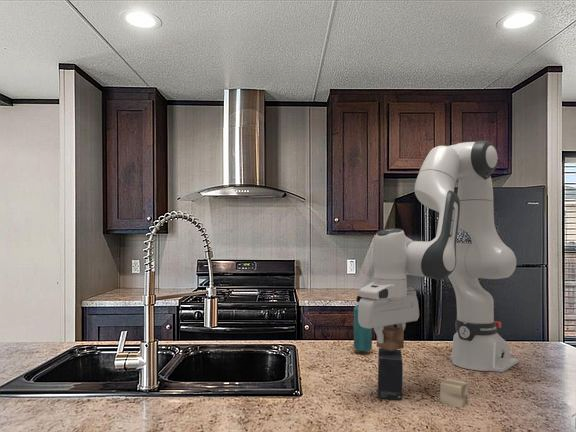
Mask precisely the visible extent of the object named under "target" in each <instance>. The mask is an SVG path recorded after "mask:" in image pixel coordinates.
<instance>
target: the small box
mask: <svg viewBox="0 0 576 432" xmlns="http://www.w3.org/2000/svg"><path fill="white" fill-rule="evenodd" d="M401 350H402V349H397V350H392V351H390V350H386V349H383V348H380V347H378V353H377V354H378V355H377V356H378V358H377V368H378V369H377V399H385V400H396V401H397V400H398V401H402V399H403V377H404V376H403V375H404V374H403V373H404V372H403V369H404V366H403V357H402V351H401Z"/></svg>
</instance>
